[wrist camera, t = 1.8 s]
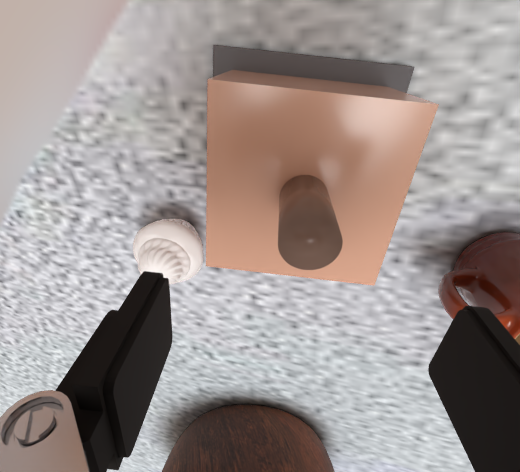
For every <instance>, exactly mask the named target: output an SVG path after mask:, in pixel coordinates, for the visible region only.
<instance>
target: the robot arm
mask: <svg viewBox="0 0 520 472" xmlns="http://www.w3.org/2000/svg"><path fill="white" fill-rule="evenodd" d="M171 344H172V324H171V307H170V290H169V279H168V278H164V277H163V274H162V273H158V272H148V271H144V272H143V273H142V274H141V276H140V277H139V279H138V280H137V282H136V283H135V285H134V287H133V288H132V290H131V291H130V293H129V295H128V296H127V298H126V299H125V301H124V302H123V304H122V306H121V307H120V309H119V310H118V311H117V310H111V311H109V312H108V313H107V315H106V316H105V317H104V319H103V320H102V322H101V323H100V325H99V326H98V328H97V329H96V331H95V332H94V334H93V335H92V337H91V338H90V340H89V341H88V343H87V344H86V346H85V347H84V349H83V350H82V352H81V353H80V355H79V356H78V358H77V359H76V361H75V362H74V364H73V365H72V367H71V368H70V370H69V371H68V373H67V374H66V376H65V377H64V379H63V380H62V382H61V383H60V385H59V386H58V388H57V389H56V391H53V390H48V391H40V392H37V393H34V394H31V395H28V396H27V397H25V398H23V399H21V400H19V401H18V402H16V403H15V404H14V405H12V406H11V407H10V408H9V409H7V411H6V412H5V413H4V414H3V415H2V416H1V417H0V472H106V471H107V469H113V470H119V467H120V465H121V462H122V459H123V457H129V456H130V455H131V453H132V451H133V448H134V445H135V443H136V440H137V437H138V435H139V432H140V429H141V426H142V424H143V421H144V418H145V416H146V413H147V410H148V408H149V405H150V402H151V399H152V397H153V394H154V391H155V389H156V386H157V383H158V381H159V378H160V375H161V372H162V370H163V367H164V364H165V362H166V359H167V356H168V354H169V351H170V348H171ZM429 375H430V378H431V380H432V382H433V384H434V386H435V388H436V390H437V392H438V395H439V397H440V399H441V401H442V403H443V405H444V407H445V409H446V411H447V413H448V416H449V418H450V420H451V422H452V424H453V426H454V428H455V430H456V432H457V435H458V437H459V439H460V441H461V443H462V445H463V447H464V449H465V451H466V453H467V456H468V458H469V460H470V462H471V464H472V466H473V468H474V470H475V472H520V345H519V344H518V342H517V341H516V340H515V339H514V338H513V336H512V335H511V334H510V333H509V332H508V330H507V329H506V328H505V327H504V326H503V325H502V323H501V322H500V321H499V320H498V319H497V317H496V316H495V315H494V314H493V313H492V311H491V310H489V309H488V308H485V307H476V306H465V307H464V308H463V309H462V310H459V311H458V312H457V314H456V316H455V318H454V319H453V321H452V323H451V325H450V327H449V329H448V331H447V332H446V334H445V336H444V338H443V340H442V342H441V344H440V345H439V347H438V349H437V351H436V353H435V355H434V357H433V358H432V360H431V362H430V364H429Z"/></svg>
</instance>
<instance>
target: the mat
mask: <svg viewBox="0 0 520 472" xmlns="http://www.w3.org/2000/svg"><path fill="white" fill-rule="evenodd" d="M231 70H239V71H248V72H257V73H267V74H276V75H285V76H294V77H303V78H312V79H321V80H331V81H340V82H349V83H358V84H367V85H376V86H385V87H390V88H393V89H396V90H399V91H402V92H404V93H407V90H408V86H409V83H410V80H411V76H412V73H413V70H414V67H412V66H403V65H393V64H384V63H375V62H366V61H357V60H347V59H338V58H329V57H320V56H311V55H301V54H292V53H283V52H274V51H265V50H255V49H246V48H237V47H228V46H219V45H214V47H213V77H215V76H217V75H220V74H223V73H225V72H228V71H231Z"/></svg>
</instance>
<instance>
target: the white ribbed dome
mask: <svg viewBox="0 0 520 472" xmlns="http://www.w3.org/2000/svg"><path fill="white" fill-rule="evenodd" d="M202 246H203V244H202V243H201V239H200V237H199V235H198V233H197V231H196V230H195V228H194V227H193V226H192V225H191V224H190V223H189V222H188V221H185V220H182V219H161V220H160V221H156V222H153V223H150V224H148V225H146V226H145V227H143V228H142V229H141V230H139V232H138V233H137V234H136V236H135V239H134V243H133V253H134V257H135V259H136V261H137V263H138V264H139V265H138V269H139V271H140V274H142V273H143V272H144V271H148V272H158V273H162V274H163V277H164V278H168V279H169V285H170V284H175V283H178V282H183V281H186V280H189V279H190V278H192V277H193V276H195V275H196V274H197V273H198V272H199V270H200V269H201V267H202V263H203V256H204V254H203V247H202Z"/></svg>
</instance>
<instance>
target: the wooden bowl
mask: <svg viewBox="0 0 520 472" xmlns="http://www.w3.org/2000/svg"><path fill="white" fill-rule="evenodd" d="M162 472H334V469H333V466H332V463H331V461H330V458H329V456H328V453H327V451H326V449H325V447H324V446H323V444H322V442H321V441H320V439H319V438H318V436H317V435H316V433H315V432H314V431H313V430H312V429H311V428H310V427H309V426H308V425H307V424H306V423H304V422H303V421H302V420H300V419H299V418H297V417H295V416H293V415H291V414H289V413H287V412H284V411H281V410H278V409H275V408H271V407H266V406H260V405H231V406H225V407H220V408H217V409H214V410H211V411H209V412H207V413H205V414H203V415H201V416H200V417H198V418H197V419H196V420H194V421H193V422H192V423H191V424H190V425H189V426H188V428H187V429H186V430H185V431H184V432H183V434H182V435H181V436H180V438H179V439H178V441H177V442H176V444H175V445H174V447H173V449H172V451H171V453H170V455H169V457H168V459H167V461H166V463H165V466H164V468H163V470H162Z"/></svg>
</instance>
